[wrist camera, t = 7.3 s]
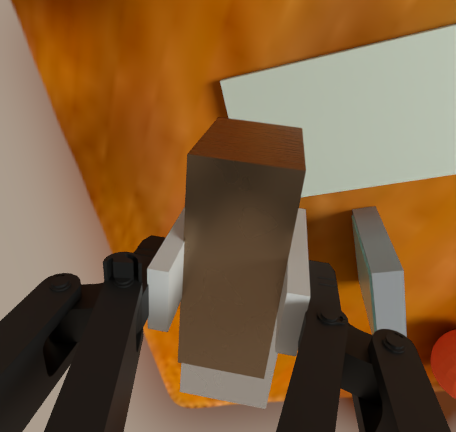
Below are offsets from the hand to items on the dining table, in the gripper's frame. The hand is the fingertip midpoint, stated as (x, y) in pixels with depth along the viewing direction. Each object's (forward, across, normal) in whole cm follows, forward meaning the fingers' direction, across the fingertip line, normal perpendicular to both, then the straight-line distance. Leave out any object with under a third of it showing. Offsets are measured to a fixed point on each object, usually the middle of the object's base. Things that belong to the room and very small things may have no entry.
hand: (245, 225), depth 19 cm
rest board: (+16, +8, +3) cm, 18 cm away
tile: (+16, +11, -9) cm, 21 cm away
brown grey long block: (+2, 0, -5) cm, 5 cm away
